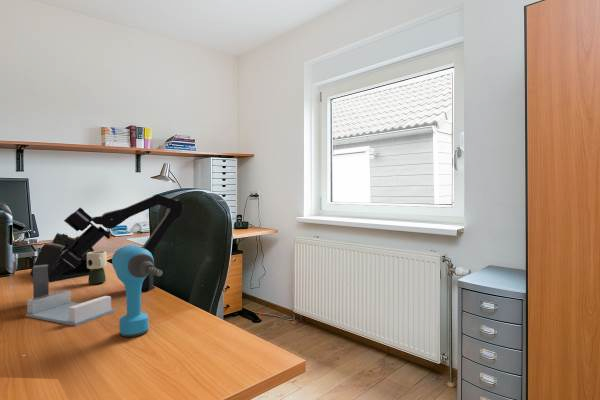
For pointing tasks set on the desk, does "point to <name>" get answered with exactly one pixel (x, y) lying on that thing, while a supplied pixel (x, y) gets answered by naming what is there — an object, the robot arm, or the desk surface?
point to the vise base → (63, 314)
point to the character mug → (96, 266)
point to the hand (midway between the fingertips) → (50, 274)
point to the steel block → (40, 280)
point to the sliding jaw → (48, 301)
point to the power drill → (133, 286)
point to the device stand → (51, 256)
